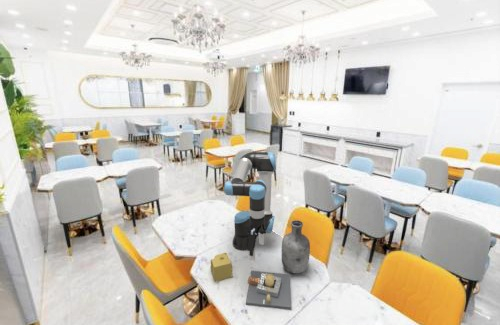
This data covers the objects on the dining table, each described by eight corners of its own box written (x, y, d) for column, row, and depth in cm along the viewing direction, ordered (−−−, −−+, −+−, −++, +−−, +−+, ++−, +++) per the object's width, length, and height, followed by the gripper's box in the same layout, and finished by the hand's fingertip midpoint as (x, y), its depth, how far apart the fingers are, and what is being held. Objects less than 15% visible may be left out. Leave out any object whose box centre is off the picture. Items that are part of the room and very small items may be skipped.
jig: (251, 272, 135) (251, 261, 133) (289, 276, 132) (290, 264, 130) (245, 304, 114) (245, 291, 112) (291, 309, 111) (291, 296, 109)
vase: (275, 267, 139) (276, 222, 131) (292, 255, 149) (294, 213, 141) (296, 282, 128) (299, 234, 120) (313, 269, 137) (317, 223, 130)
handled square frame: (281, 281, 126) (281, 277, 125) (277, 297, 116) (277, 293, 115) (251, 274, 131) (251, 271, 130) (245, 289, 121) (245, 285, 120)
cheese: (210, 270, 137) (209, 255, 135) (228, 265, 141) (227, 251, 138) (214, 283, 128) (213, 267, 125) (233, 277, 132) (232, 262, 129)
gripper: (259, 203, 128) (258, 237, 134) (239, 226, 106) (240, 265, 112) (272, 206, 125) (271, 240, 131) (254, 230, 103) (254, 269, 109)
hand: (257, 251), depth 122 cm, fingers open, 13 cm apart
